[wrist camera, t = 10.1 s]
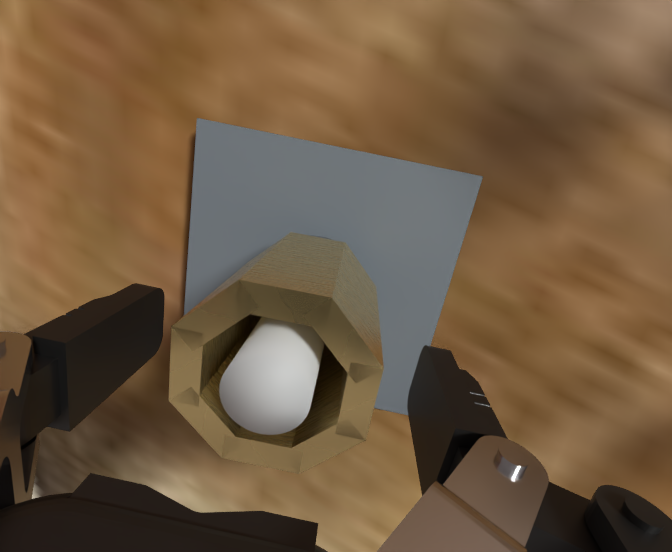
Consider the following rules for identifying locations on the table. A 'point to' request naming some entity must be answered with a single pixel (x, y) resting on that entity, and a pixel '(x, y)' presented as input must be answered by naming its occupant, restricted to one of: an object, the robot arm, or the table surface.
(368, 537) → the table surface
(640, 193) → the table surface
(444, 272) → the grey peg stand
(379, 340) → the bushing
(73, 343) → the robot arm
